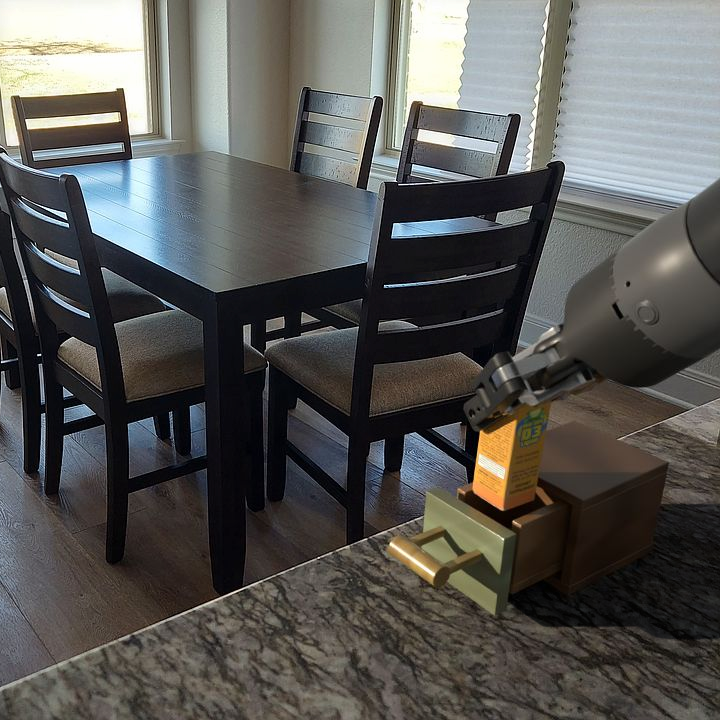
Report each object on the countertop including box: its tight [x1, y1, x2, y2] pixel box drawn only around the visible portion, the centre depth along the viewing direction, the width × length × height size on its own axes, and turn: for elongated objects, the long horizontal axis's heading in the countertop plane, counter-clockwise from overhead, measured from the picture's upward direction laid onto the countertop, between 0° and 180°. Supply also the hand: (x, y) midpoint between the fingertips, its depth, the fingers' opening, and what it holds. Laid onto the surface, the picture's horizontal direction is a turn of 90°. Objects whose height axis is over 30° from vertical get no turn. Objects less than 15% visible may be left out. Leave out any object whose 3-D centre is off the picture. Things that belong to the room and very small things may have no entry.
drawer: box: [387, 481, 573, 617], centre depth 62 cm, size 14×7×6 cm, turn 122°
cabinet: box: [537, 420, 670, 596], centre depth 67 cm, size 10×9×8 cm
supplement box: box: [472, 386, 552, 511], centre depth 60 cm, size 3×3×10 cm
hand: (493, 412), depth 61 cm, fingers closed on supplement box, 3 cm apart
